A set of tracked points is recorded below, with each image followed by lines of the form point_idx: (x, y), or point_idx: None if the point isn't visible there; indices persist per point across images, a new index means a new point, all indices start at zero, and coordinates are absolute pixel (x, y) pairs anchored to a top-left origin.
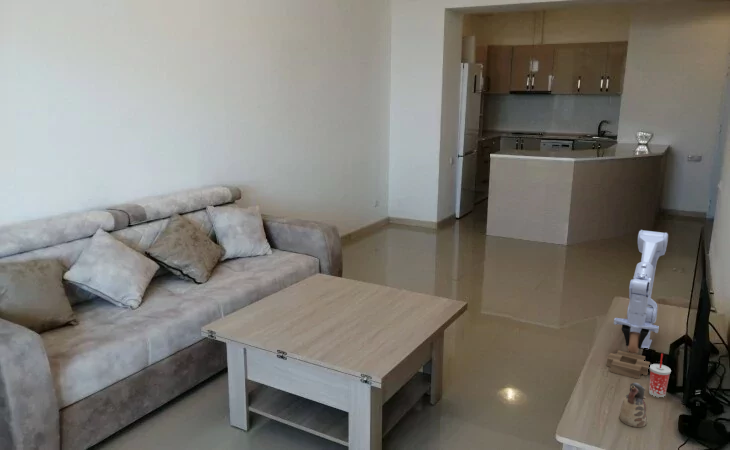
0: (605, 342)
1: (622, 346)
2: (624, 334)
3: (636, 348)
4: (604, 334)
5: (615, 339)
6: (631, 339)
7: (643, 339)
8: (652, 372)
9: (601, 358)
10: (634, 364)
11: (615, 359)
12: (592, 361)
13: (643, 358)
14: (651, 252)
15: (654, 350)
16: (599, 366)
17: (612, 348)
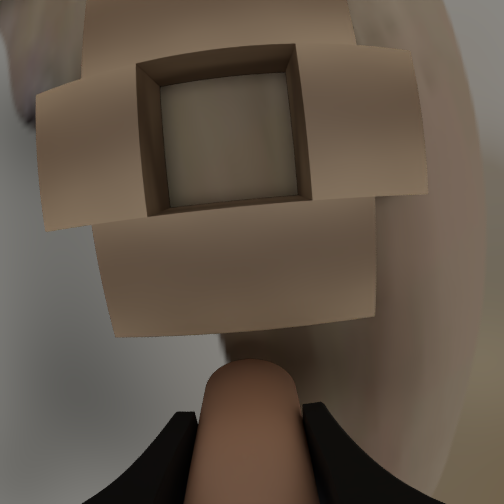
0: (431, 442)
1: None
2: (398, 488)
3: (209, 402)
4: (427, 494)
5: None
6: (276, 467)
7: (107, 490)
8: None
9: (444, 196)
10: (185, 208)
11: (341, 57)
12: (471, 106)
13: (109, 276)
14: None
15: None
16: (412, 45)
17: (396, 408)
